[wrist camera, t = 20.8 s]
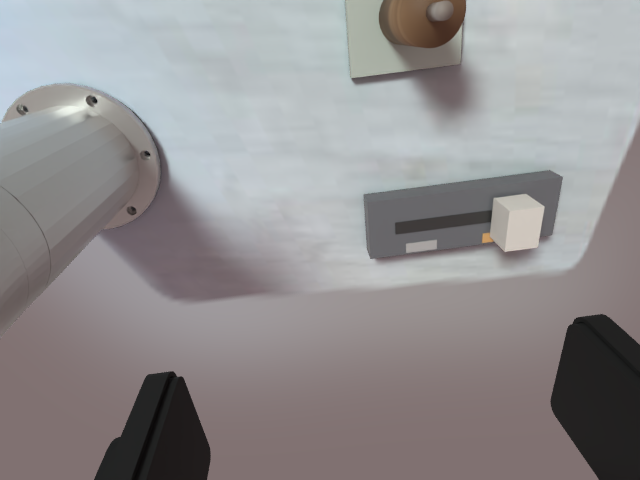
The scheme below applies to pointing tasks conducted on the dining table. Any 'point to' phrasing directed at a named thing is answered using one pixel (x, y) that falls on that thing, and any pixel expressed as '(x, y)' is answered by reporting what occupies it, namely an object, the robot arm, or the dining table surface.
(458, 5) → the tool handle
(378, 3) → the mat
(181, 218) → the dining table surface
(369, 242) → the switch board
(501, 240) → the switch tab
